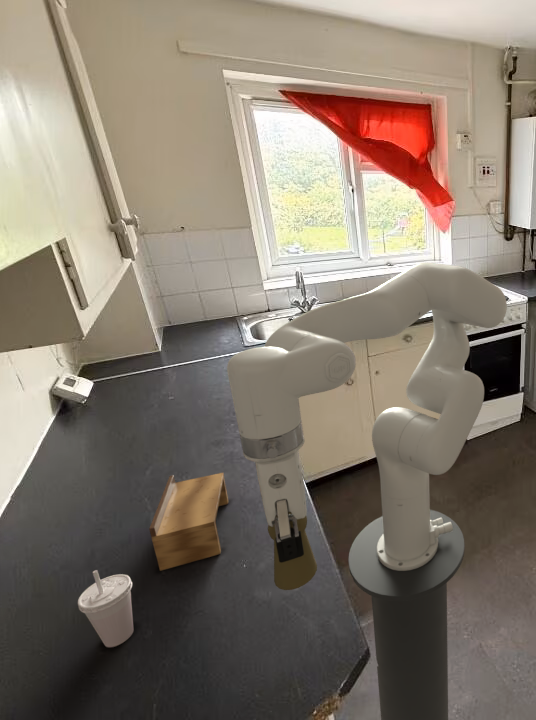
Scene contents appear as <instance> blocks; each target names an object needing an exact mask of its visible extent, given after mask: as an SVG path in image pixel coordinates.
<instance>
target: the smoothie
mask: <svg viewBox="0 0 536 720" xmlns="http://www.w3.org/2000/svg"><path fill="white" fill-rule="evenodd" d="M92 576H93V579H94V581H95V582H94V583H93V584H91V585H90V586H88V587H87V588H86V589H85V590H84V591H83V592H82V593H81V594H80V596H79V597H78V600H77V606H78V610H79V611H80V612H81V613H83V614H84V615H85V616H86V618H87V619H88V621H89V622H90V625H91V626H92V627H93V629H94V630H95V632H96V633H97V635H98V637H99V638H100V640H101V642H102V643H103V645H104V646H105V647H106V648H114V647H117V646H119V645H121V644H123V643H124V642H126V641H127V640H128V639H129V638H130V637H131V636H132V635H133V633H134V631H135V630H134V616H133V605H132V592H131V590H132V588H133V581H132V579H131V577H130V576H129V575H128V574H123V573H122V574H121V573H119V574H113V575H110V576H107V577H103V578H102V579H101V578H100V574H99V571H98V569H95V570H93V571H92Z"/></svg>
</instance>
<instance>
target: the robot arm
mask: <svg viewBox="0 0 536 720" xmlns="http://www.w3.org/2000/svg"><path fill="white" fill-rule="evenodd" d="M507 310H508V303H507V299H506V296H505V294H504V292H503V291H502V290H501V288H500V287H498V286H497V285H495V284H494V283H492V282H491V281H489V280H488V279H486V278H484V277H483V276H481V275H480V274H479V273H476V272H475V271H472V270H471V269H469V268H466V267H464V266H460V265H453V264H446V263H445V264H444V263H436V262H420V263H417V264H414V265H413V266H411V267H409V268H407V269H406V270H403V272H401V273H399V274H397V275H396V276H394V277H393V278H391V279H389V280H387V281H386V282H384V283H382V284H380V285H379V286H378V287H377V286H376V287H375V288H374V289H372V290H370V291H368V292H366V293H362V294H358V295H354V296H350V297H348V298H345V299H341V300H337V301H334V302H330V303H327V304H324V305H320V306H318V307H315V308H312V309H310V310H309V311H306V312H305V313H302V314H301V315H299V316H297V317H295V318H294V319H292V320H290V321H288V322H287V323H285V324H283V325H282V326H280V327H279V328H277V329H276V330H275V331H274V332H273V333H271V335H270V336H269V337H268V338H267V340H266V341H265V344H264V346H259V347H252V348H247V349H245V350H242V351H239V352H238V353H236V354H234V355H232V357H230V358H229V360H228V362H227V366H226V371H227V378H228V383H229V388H230V392H231V398H232V402H233V408H234V413H235V418H236V422H237V427H238V432H239V433H238V434H239V438H240V443H241V448H242V455H243V457H244V458H245V459H246V460H248V461H250V462H254V464H255V469H256V475H257V481H258V486H259V491H260V492H259V493H260V496H261V503H262V507H263V511H264V514H265V519H266V523H267V526H268V525H269V526H271V527H273V525H275V532H276V538H275V541H276V546H277V552H278V557H279V562H281V563H282V562H285V561H289V560H292V559H295V558H298V557H301V556H303V555H304V550H303V543H302V537H301V531H298V525H297V519H301V518H304V517H305V516H307V514H308V508H307V498H306V489H305V482H304V475H303V468H302V461H301V456H300V451H299V450H300V449H302V447H303V446H304V444H305V435H304V434H305V433H304V426H303V420H302V414H301V413H302V412H301V406H300V398H302V397H305V396H311V395H314V394H321V393H324V392H328V391H332V390H335V389H338V388H339V387H341V386H343V385H344V384H345V383H347V382H348V381H349V380H350V379H351V377H352V376H353V375H354V372H355V369H356V365H357V363H356V361H357V360H356V355H355V353H354V351H353V350H352V348H351V347H350V346H349V345H347V343H348V342H354V341H363V340H364V341H365V340H366V341H367V340H377V339H378V340H379V339H386V338H391V337H395V336H397V335H399V334H401V333H402V332H403V331H405V330H406V329H407V328H409V327H410V326H411V325H413V324H414V323H415V322H417V321H418V320H419V319H421V318H422V317H423V316H425V315H427V314H428V313H429V312H431V315H432V321H433V335H432V338H431V341H430V342H429V345H428V346H427V348H426V350H425V352H424V353H423V355H422V357H421V359H420V361H418V364H417V365H416V368H415V369H414V371H413V372H412V374H411V376H410V378H409V380H408V382H407V385H406V388H405V394H406V397H407V399H408V400H409V401H410V402H411V403H412V404H413V405H415V406H417V407H419V408H422V409H424V410H427V411H430V412H433V413H436V414H438V415H439V417H438V418H436V417H433V416H430V415H427V414H425V413H422V412H419V411H417V410H413V409H410V408H407V407H401V406H395V407H389V408H387V409H385V410H384V411H382V412H381V413H379V415H378V416H377V417H376V419H375V420H374V423H373V425H372V430H371V441H372V446H373V451H374V454H375V457H376V461H377V465H378V472H379V480H380V482H379V483H380V498H381V499H380V500H381V513H382V515H381V516H383V531H384V534H383V535H382V536H381V538H380V539H379V541H378V544H377V555H378V558H379V560H380V562H381V563H382V564H383V565H384V566H386V567H387V568H390V569H392V570H397V571H407V570H413V569H416V568H419V567H421V566H423V565H424V564H426V563H427V562H429V561H430V560H431V559H432V558H433V556H434V555H435V553H436V551H437V548H438V537H439V535H440V534H443V533H444V534H445V533H448V532H451V531H453V527H452V524H451V522H448V523H445V524H443V519H442V518H438V519H436V520H433V521H432V520H430V510H431V505H430V504H431V503H430V502H431V499H430V498H431V495H430V475H434V476H440V475H443V474H445V473H447V472H448V471H449V470H450V469H451V468H452V466H454V464H455V462H456V461H457V459H458V457H459V455H460V453H461V451H462V449H463V447H464V445H465V444H466V441H467V439H468V437H469V436H470V433H471V431H472V429H473V427H474V425H475V422H476V420H477V419H478V417H479V414H480V412H481V410H482V407H483V403H484V399H485V386H484V383H483V380H482V379H481V377H479V375H477V374H475V373H474V372H471V371H469V370H465V369H464V367H465V364H466V362H467V360H468V358H469V356H470V351H471V350H470V349H471V347H470V346H471V345H470V341H469V338H468V335H467V332H466V329H465V325H469V326H474V327H479V328H485V329H492V328H496V327H497V326H499V325H500V324H501V323H502V322H503V320H504V319H505V317H506V314H507ZM288 512H291V513H292V514H290V515H288ZM277 515H278V518H277ZM290 521H292V522H293V527H292V528H290V523H289V522H290ZM441 524H442V525H441ZM438 525H441V526H438Z"/></svg>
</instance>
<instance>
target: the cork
mask: <svg viewBox="0 0 536 720" xmlns="http://www.w3.org/2000/svg"><path fill="white" fill-rule="evenodd" d="M290 514H292V513H291V512H288V515H290ZM277 518H278V515H277ZM289 523H290V528H292V527H293V522H292V521H290V522H289ZM297 525H298V531H301V537H302V543H303V550H304V555H303V556H301V557H298V558H295V559H292V560H289V561H285V562H282V563H281V562H279V557H278V552H277V546H276V541H275V538H276V532H275V525H273V527H271V526H269V525H268V524H267V532H268V535H269V537H270V539H271V540H273V582H274V585H275V587H277V588H278V589H280V590H283V591H293V590H296V589H300V588H301V587H303V586H306V585H307V584H308V583H309V582H310V581H311V580H312V579H313V578H314V576H315V575H316V573H317V570H318V563H317V560H316V558H315V555H314V552H313V549H312V546H311V543H310V541H309V538H308V535H307V532H306V528H307V527H308V526H307V525H308V516H307V515H306V516H305V517H304V518H301V519H297Z"/></svg>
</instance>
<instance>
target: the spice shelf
mask: <svg viewBox="0 0 536 720" xmlns="http://www.w3.org/2000/svg"><path fill="white" fill-rule="evenodd" d="M228 504H229V495H228V491H227V484H226V480H225V476H224V472H219V473H215V474H214V473H213V474H210V475H209V474H208V475H205V476H200V477H195V478H191V479H186V480H181V481H178V482H177V481H176V478H175V475H174V474H171V475H169V476H168V479H167V480H166V484H165V487H164V490H163V492H162V495H161V497H160V500H159V502H158V505H157V508H156V510H155V512H154V515H153V517H152V520H151V523H150V526H149V534H150V538H151V541H152V545H153V548H154V553H155V556H156V561H157V565H158V568H159V571H160V572H162V571H164V570H168V569H173V568H175V567H179V566H183V565H186V564H190V563H193V562H196V561H200V560H204V559H208V558H210V557H214V556H217V555H221V552H222V547H221V542H220V538H219V533H218V532H219V531H218V528H217V523H216V520H217V515H218V509H219V507H221V506H225V505H228Z"/></svg>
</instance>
